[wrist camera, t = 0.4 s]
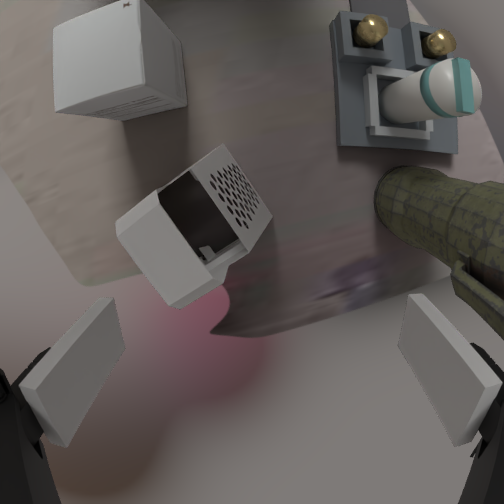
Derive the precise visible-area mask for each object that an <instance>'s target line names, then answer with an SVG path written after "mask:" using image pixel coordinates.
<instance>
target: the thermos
mask: <svg viewBox="0 0 504 504" xmlns="http://www.w3.org/2000/svg"><path fill="white" fill-rule="evenodd" d="M374 206H375V211H376V214H377V216H378V218H379V220H380V222H381V223H382V224H383V225H385V226H386V227H387V228H388V229H389V230H390V231H391V232H392V233H393V234H394V235H396V236H397V237H399V238H400V239H401V240H403V241H404V242H406V243H407V244H409V245H411V246H413V247H416V248H423V249H425V250H426V251H428V252H429V253H430V254H432V255H433V256H435V257H436V258H438V259H439V260H440V261H442V262H443V263H445V264H446V265H447V266H449V267H450V268H451V270H452V271H451V274H450V275H451V280H452V284H453V288H454V291H455V294H456V295H457V296H458V297H459V298H461V299H462V300H463V301H464V302H466V303H467V304H468V305H469V306H471V307H472V308H473V309H474V310H475V311H476V312H477V313H478V314H479V315H480V316H481V317H482V318H483V319H484V320H485V321H486V322H487V323H488V324H489V325H490V326H491V327H492V329H494V331H495V332H496V333H497V334H498V335H499V336H500V337H501V338H502V339H503V340H504V184H502V183H498V182H493V181H488V182H484V183H480V184H478V183H473V182H469V181H465V180H460V179H455V178H451V177H448V176H447V175H445V174H444V173H442V172H440V171H438V170H435V169H429V168H423V167H416V166H400V167H395V168H393V169H391V170H390V171H388V172H386V173H385V174H384V175H383V177H382V178H381V179H380V180H379V182H378V185H377V187H376V190H375V194H374Z"/></svg>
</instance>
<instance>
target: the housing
mask: <svg viewBox="0 0 504 504" xmlns="http://www.w3.org/2000/svg"><path fill="white" fill-rule="evenodd" d="M366 15H369V14H364V13H356V12H347V11H339V13H338V15H337V16H336V18H335V20H332V22H331V24H330V26H329V27H330V37H331V48H332V60H333V73H334V88H335V107H336V133H337V146H360V147H380V148H396V149H409V150H420V151H431V152H440V153H449V154H458V130H457V117H454V118H441V119H433V120H425V121H418V122H411V123H404V124H394V123H391V122H389V121H387V120H386V119H385V118H384V117H383V116H382V115H381V113H380V111H379V105H378V95H379V93H380V91H381V90H382V89H383V88H384V87H386V86H388V85H390V84H392V83H394V82H397V81H399V80H401V79H403V78H405V77H407V76H410V75H412V74H414V73H416V72H418V71H421V70H423V69H425V68H427V67H429V66H431V65H433V64H435V63H437V62H440V61H444V60H446V59H451V58H453V59H454V56H453V51H452V52H450V53H448V54H446V55H443V56H441V57H439V58H437V59H430V58H428V57H426V56H425V55H424V54H423V52H422V49H421V41H422V40H423V39H424V38H426V37H427V36H429V35H431V34H432V33H434V32H436V31H437V30H439V28H435V27H431V26H427V25H423V24H419V23H414V22H409V23H408V24H406V25H405V26H404V27H403V28H401V29H397V28H391V27H389V24H388V18H387V17H384V16H380V17H381V18H383V19H384V20H385V21H386V23H387V25H388V33H387V35H386V36H384V37H383V38H382V39H381V40H380V41H379V42H378V43H376V44H375V45H374V46H373V47H371V48H363V47H360V46H359V45H357V44H356V43H355V41H354V40H353V36H352V33H353V31H354V29H355V28H356V27H357V26H358V24H359V23H360V22H361V21H362V19H363V18H364V17H365V16H366ZM448 32H449V31H448Z"/></svg>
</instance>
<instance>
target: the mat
mask: <svg viewBox="0 0 504 504" xmlns="http://www.w3.org/2000/svg"><path fill="white" fill-rule="evenodd" d="M349 2H350V9H351V12H356V13H364V14H375V15H378V16H384V17H387V18H388V24H389V27H391V28H397V29H401V28H403V27H404V26H405V25H406V24H408V23H409V22H410V19H409V13H408V8H407V3H406V0H349Z"/></svg>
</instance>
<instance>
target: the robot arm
mask: <svg viewBox="0 0 504 504" xmlns="http://www.w3.org/2000/svg"><path fill="white" fill-rule="evenodd" d="M398 347H399V349H400V350H401V352H402V354H403V355H404V357H405V359H406V360H407V362H408V364H409V366H410V367H411V369H412V371H413V372H414V374H415V376H416V377H417V379H418V381H419V382H420V384H421V386H422V388H423V390H424V391H425V393H426V395H427V397H428V399H429V400H430V402H431V404H432V406H433V408H434V409H435V411H436V413H437V415H438V417H439V419H440V421H441V422H442V424H443V426H444V428H445V430H446V432H447V434H448V436H449V438H450V439H451V441H452V443H453V445H454V447H457V446H460V445H463V444H466V443H469V442H471V441H472V440H473V438H474V436H475V435H476V433H477V431H478V430H479V432H480V434H481V435H482V438H481V440H480V442H479V443H478V445H477V446H476V448H475V449H474V451H473V453H472V454H471V456H470V457H473V456H474V454H475V453H476V454H475V457H474V460H473V464H472V467H471V470H470V473H469V475H468V478H467V481H466V484H465V487H464V489H463V492H462V495H461V497H460V500H459V503H458V504H504V372H503V371H502V370H501V368H500V367H499V366H498V365H497V364H495V362H494V361H493V360H492V358H490V356H489V355H488V354H487V353H486V351H485V350H484V349H482V348H481V347H479V346H477V345H476V344H474V343H468V341H467V340H466V339H465V338H464V337H463V336H462V335H461V334H460V333H459V331H458V330H457V329H456V328H455V327H454V326H453V325H452V324H451V323H450V322H449V320H448V319H447V318H446V317H445V316H444V315H443V314H442V313H441V312H440V311H439V310H438V309H437V308H436V307H435V306H434V305H433V304H432V303H431V302H430V301H429V299H428V298H427V297H426V296H425V295H424V294H423V293H419V294H408V298H407V304H406V309H405V314H404V319H403V325H402V329H401V334H400V338H399V343H398ZM124 350H125V345H124V341H123V337H122V333H121V328H120V324H119V319H118V315H117V310H116V306H115V301H114V298H107V297H106V298H105V297H99V298H98V299H97V300H96V302H94V303H93V304H92V306H90V308H89V309H88V310H87V311H86V312H85V313H84V314H83V315H82V316H81V317H80V318H79V319H78V320H77V321H76V322H75V323H74V324H73V325H72V326H71V327H70V328H69V330H68V331H67V332H66V333H65V334H64V335H63V336H62V337H61V338H60V339H59V340H58V341H57V342H56V344H55V345H54V346H53V347H52V348H50V347H49V348H48V349H46V350H44V351H43V352H41V353H40V354H39V355H38V356H37V357H36V358H35V359H34V360H33V363H30V365H29V366H28V368H27V369H25V370H24V371H23V372H22V373H21V375H20V376H19V377H18V378H17V379H16V380H15V381H14V383H13V384H12V385H11V386H10V384H9V382H8V380H7V378H6V376H5V373H4V371H3V370H2V369H0V504H61V501H60V499H59V496H58V493H57V490H56V487H55V484H54V481H53V478H52V474H51V471H50V468H49V464H48V461H47V457H46V454H45V450H44V446H43V443H42V442H41V440H40V437H41V435H42V434H43V432H44V433H45V435H46V436H47V438H48V440H49V441H50V443H53V444H56V445H59V446H63V447H65V448H67V446H68V445H69V443H70V441H71V439H72V437H73V435H74V434H75V432H76V430H77V429H78V427H79V425H80V423H81V421H82V420H83V418H84V416H85V415H86V413H87V411H88V410H89V408H90V406H91V404H92V403H93V401H94V399H95V398H96V396H97V394H98V393H99V391H100V389H101V388H102V386H103V384H104V382H105V381H106V379H107V378H108V376H109V374H110V373H111V371H112V369H113V368H114V366H115V364H116V363H117V361H118V360H119V358H120V356H121V355H122V353H123V352H124Z"/></svg>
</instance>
